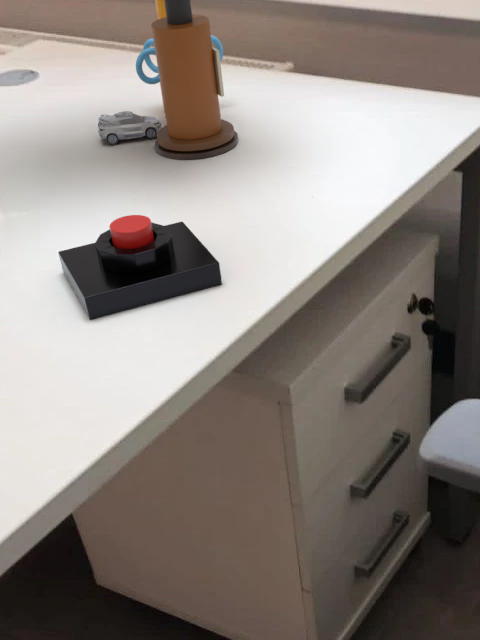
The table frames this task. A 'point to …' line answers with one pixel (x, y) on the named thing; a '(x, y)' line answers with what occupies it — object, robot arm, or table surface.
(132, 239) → the button
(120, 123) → the toy car
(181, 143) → the labeled post on disc
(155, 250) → the button block
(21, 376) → the table surface
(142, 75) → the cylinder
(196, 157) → the turntable base
